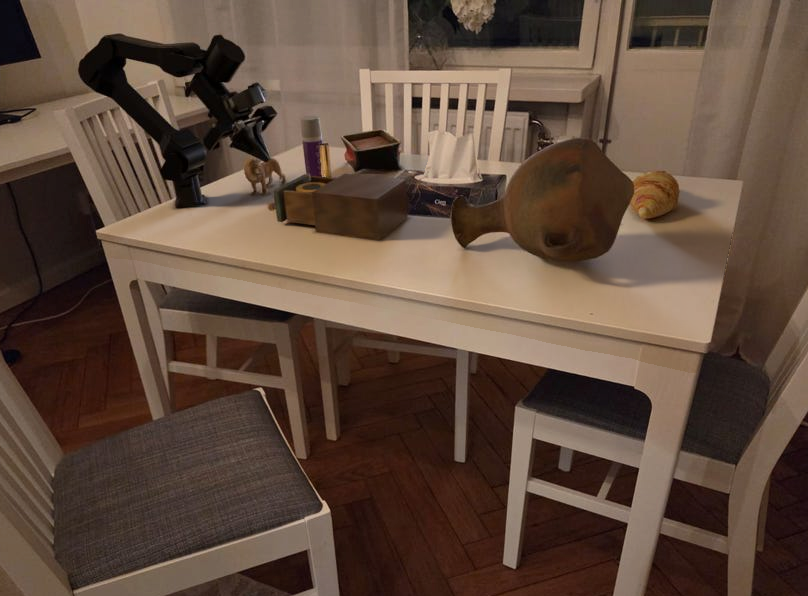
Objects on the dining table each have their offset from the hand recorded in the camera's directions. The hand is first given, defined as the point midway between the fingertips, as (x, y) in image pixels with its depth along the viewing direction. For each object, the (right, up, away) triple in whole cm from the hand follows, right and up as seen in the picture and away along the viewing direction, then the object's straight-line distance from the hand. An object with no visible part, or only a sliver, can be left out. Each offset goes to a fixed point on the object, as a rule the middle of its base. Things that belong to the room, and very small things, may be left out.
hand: (268, 160), depth 129 cm
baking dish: (+21, +9, +34) cm, 41 cm away
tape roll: (+9, -10, +1) cm, 14 cm away
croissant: (+78, -10, -1) cm, 78 cm away
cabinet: (+19, -14, -2) cm, 24 cm away
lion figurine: (-4, -1, +20) cm, 21 cm away
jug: (+50, -22, -18) cm, 58 cm away
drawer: (+9, -11, +2) cm, 14 cm away
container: (+7, +2, +24) cm, 25 cm away
